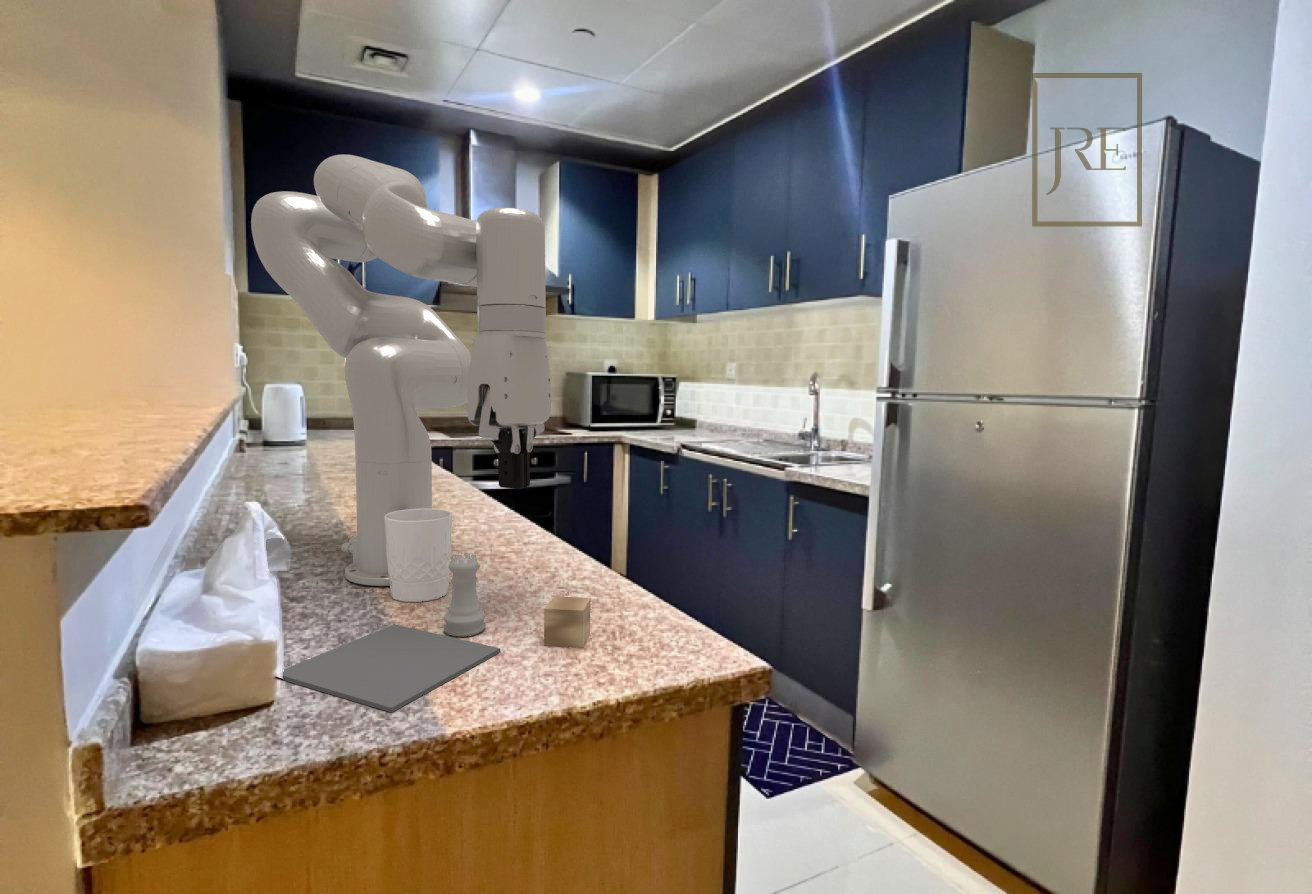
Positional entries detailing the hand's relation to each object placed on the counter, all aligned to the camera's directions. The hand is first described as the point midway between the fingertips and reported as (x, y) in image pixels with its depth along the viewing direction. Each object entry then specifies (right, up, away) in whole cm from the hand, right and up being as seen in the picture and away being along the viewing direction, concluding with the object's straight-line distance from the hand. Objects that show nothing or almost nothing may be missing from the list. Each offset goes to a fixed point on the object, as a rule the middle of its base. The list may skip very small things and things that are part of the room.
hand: (514, 486), depth 80 cm
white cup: (-13, -14, +6) cm, 20 cm away
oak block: (+7, -16, -7) cm, 19 cm away
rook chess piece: (-4, -15, -5) cm, 17 cm away
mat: (-8, -16, -14) cm, 23 cm away
